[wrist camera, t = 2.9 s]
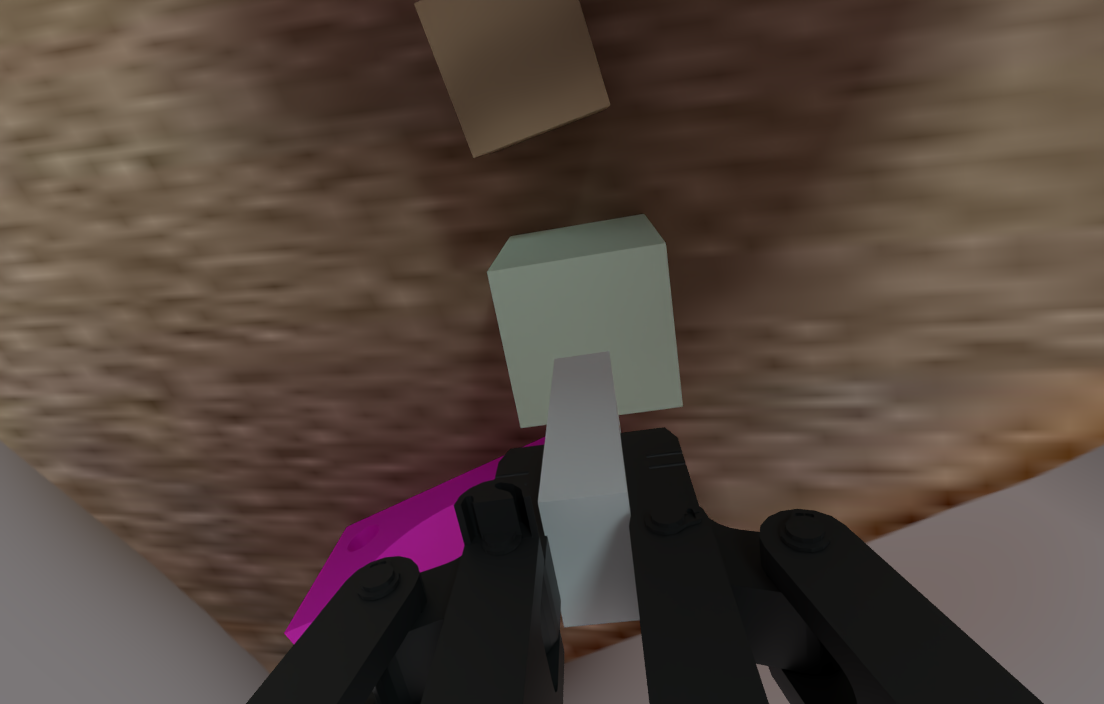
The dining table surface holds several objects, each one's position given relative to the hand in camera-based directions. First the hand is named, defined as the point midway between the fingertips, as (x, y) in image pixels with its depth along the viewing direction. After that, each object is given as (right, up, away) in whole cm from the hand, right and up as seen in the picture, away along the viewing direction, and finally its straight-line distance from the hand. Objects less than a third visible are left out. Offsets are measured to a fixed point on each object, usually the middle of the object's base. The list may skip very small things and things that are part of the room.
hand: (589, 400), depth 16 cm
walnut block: (-2, +13, +8) cm, 15 cm away
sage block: (+1, +4, +11) cm, 12 cm away
